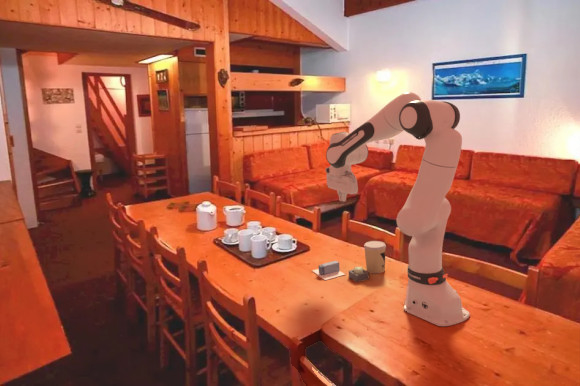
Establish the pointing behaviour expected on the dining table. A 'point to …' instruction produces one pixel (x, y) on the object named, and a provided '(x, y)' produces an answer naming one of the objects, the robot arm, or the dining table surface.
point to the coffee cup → (375, 256)
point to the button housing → (358, 276)
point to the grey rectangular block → (329, 267)
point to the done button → (358, 270)
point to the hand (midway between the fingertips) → (342, 200)
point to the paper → (329, 276)
